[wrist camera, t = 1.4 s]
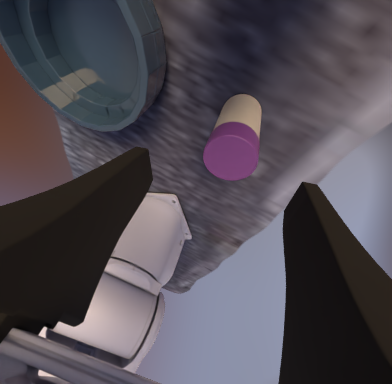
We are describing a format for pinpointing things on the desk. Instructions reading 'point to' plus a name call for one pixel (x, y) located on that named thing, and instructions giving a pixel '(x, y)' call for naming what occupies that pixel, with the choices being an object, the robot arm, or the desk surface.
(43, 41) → the dish
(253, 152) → the glue stick
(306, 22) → the desk surface
